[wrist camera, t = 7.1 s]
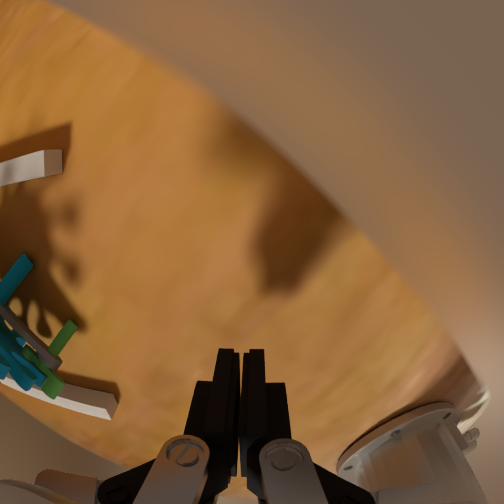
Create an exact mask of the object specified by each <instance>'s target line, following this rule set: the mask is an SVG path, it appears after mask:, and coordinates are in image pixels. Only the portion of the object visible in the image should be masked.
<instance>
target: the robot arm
mask: <svg viewBox="0 0 504 504" xmlns="http://www.w3.org/2000/svg"><path fill="white" fill-rule="evenodd" d="M459 416H460V415H459V413H458V411H457V409H456V408H455V407H454V406H453V404H450V403H448V402H439V403H433V404H429V405H426V406H422V407H419V408H417V409H414V410H412V411H409V412H407V413H405V414H403V415H401V416H399V417H397V418H394V419H393V420H391V421H389V422H387V423H385V424H384V425H382V426H380V427H378V428H377V429H375V430H374V431H372V432H370V433H369V434H367V435H366V436H364V437H363V438H362V439H360V440H359V441H357V442H356V443H355V444H354V445H353V446H351V447H350V448H349V449H348V450H347V451H346V452H345V453H344V454H343V455H342V456H341V458H340V459H339V461H338V463H337V466H336V471H337V475H335V474H333V473H331V472H329V471H328V470H326V469H324V468H322V467H320V466H319V465H317V464H315V463H313V462H312V459H311V456H310V453H309V451H308V450H307V448H306V447H305V446H304V445H303V444H302V443H300V442H298V441H296V440H293V439H292V437H291V429H290V420H289V412H288V404H287V395H286V387H285V383H265V360H264V349H250V350H249V353H244V356H243V372H242V388H241V394H240V359H239V353H234V349H223V348H219V350H218V355H217V360H216V365H215V371H214V376H213V381H197V383H196V386H195V390H194V394H193V398H192V402H191V406H190V410H189V414H188V418H187V422H186V426H185V430H184V434H183V435H178V436H175V437H172V438H170V439H169V440H167V441H166V442H165V443H164V445H163V446H162V448H161V450H160V452H159V454H158V456H157V458H155V459H153V460H151V461H149V462H147V463H145V464H142V465H140V466H138V467H136V468H133V469H131V470H129V471H126V472H124V473H121V474H119V475H116V476H114V477H111V478H109V479H107V480H105V481H103V480H98V479H97V478H95V477H88V476H82V475H76V474H70V473H65V472H61V471H57V470H52V469H46V470H43V471H41V472H40V473H39V474H38V475H37V477H36V479H35V483H34V484H32V483H28V482H24V481H20V480H13V479H2V480H0V504H216V503H217V500H218V495H219V493H220V492H222V491H223V490H225V489H226V488H228V483H230V479H231V476H234V477H236V476H237V460H238V444H239V446H240V463H241V477H247V489H249V490H250V491H251V492H252V493H254V494H255V495H256V496H257V499H258V504H489V502H488V500H487V498H486V496H485V494H484V492H483V490H482V488H481V486H480V484H479V482H478V480H477V478H476V477H475V475H474V473H473V471H472V469H471V467H470V465H469V464H468V462H467V460H466V458H465V457H464V455H466V454H468V453H469V452H472V451H473V450H474V449H475V448H476V446H477V441H476V439H477V438H478V437H479V434H480V433H479V429H478V428H473V429H471V430H469V431H467V432H465V433H464V434H461V432H460V431H459V429H458V428H457V425H458V422H459ZM357 485H358V486H357Z"/></svg>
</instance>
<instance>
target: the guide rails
mask: <svg viewBox="0 0 504 504" xmlns="http://www.w3.org/2000/svg"><path fill="white" fill-rule="evenodd" d="M61 173H62V149H58V150H41V151H38V152H34V153H31V154H27V155H24V156H21V157H17V158H14V159H11V160H8V161H5V162H2V163H0V187H1V186H5V185H9V184H13V183H17V182H22V181H26V180H31V179H35V178H40V177H45V176H50V175H56V174H61ZM46 379H47V378H46ZM0 381H1V383H3V384H5V385H7V386H9V387H11V388H14V389H16V390H18V391H21V392H23V393H26V394H28V395H30V396H33V397H36V398H38V399H41V400H44V401H46V402H49V403H52V404H55V405H58V406H61V407H64V408H67V409H71V410H74V411H77V412H81V413H84V414H88V415H92V416H96V417H100V418H104V419H108V420H112V418H113V416H114V413H115V411H116V409H117V407H118V404H117V402H116V399H115V397H114V395H113V394H111V393H106V392H101V391H96V390H92V389H87V388H83V387H79V386H75V385H71V384H67V383H65V385H64V386H63V388H62V389H61V391H60V392H59V394H58V395H57V397H56V398H55V400H53V399H51V398H49V397H48V396H47V395H46V394H45V393H44V392H43V391H42V390H41V387H42V386H41V387H39V386H37V385H36V384H33V386H32V387H31V389H30V390H29V391H24V390H23V389H22V388H21V387H20V386H19V385H18V384H17V383H16V382H15V380H14V379H13V378H12V376H11V375H10V374H9V373H8V374H7V376H6V377H5V379H4V380H1V379H0ZM45 381H46V380H45ZM45 381H44V382H45ZM43 384H44V383H43ZM43 384H42V385H43Z"/></svg>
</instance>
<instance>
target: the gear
mask: <svg viewBox="0 0 504 504" xmlns="http://www.w3.org/2000/svg"><path fill="white" fill-rule="evenodd" d="M33 267H34V265H33V264H32V263H31V261H30V260H29V259H28V258H27V257H26V255H25V254H24V253H23V254H22V255H21V256H20V257H19V259H18V260H17V261H16V262H15V264H14V265H13V266H12V267H11V269H10V270H9V271H8V272H7V274H6V275H5V276H4V278H3V279H2V280H1V282H0V379H1V380H4V379H5V377H6V376H7V374H8V373H9V374H10V375H11V376H12V378H13V379H14V380H15V382H16V383H17V384H18V385H19V386H20V387H21V388H22V389H23V390H24V391H29V390H30V389H31V387H32V386H33V384H36V385H37V386H39V387H41V386H42V387H41V390H42V391H43V392H44V393H45V394H46V395H47V396H48V397H49V398H51V399H53V400H55V398H56V397H57V395H58V394H59V392H60V391H61V389H62V388H63V386H64V385H65V382H64V380H63V379H62V378H61V377H60V376H58V375H57V374H56V373H54V372H53V371H52V370H54V371H57V369H58V368H59V367H60V365H61V364H62V362H63V361H62V360H61V358H60V357H59V356H58V355H59V353H60V352H61V350H62V349H63V348H64V346H65V345H66V343H67V342H68V341H69V339H70V338H71V337H72V335H73V334H74V332H75V331H76V330H77V328H78V326H77V325H75V324H74V323H73V322H72V321H71V320H70V319H69V320H68V321H67V322H66V324H65V325H64V326H63V328H62V329H61V330H60V332H59V333H58V335H57V336H56V337H55V339H54V340H53V342H52V343H51V344H50V346H49V347H48V346H47V345H46V344H45V343H44V342H43V341H42V340H41V339H39V338H38V337H37V336H36V335H35V334H34V333H33V332H32V331H31V330H30V329H29V328H28V327H27V326H26V325H25V324H24V323H23V322H22V321H21V320H20V319H19V318H18V317H17V316H16V315H15V313H14V312H13V311H12V310H11V309H10V308H9V307H8V306H7V305H6V304H5V303H6V302H7V300H8V299H9V297H10V296H11V295H12V293H13V292H14V291H15V289H16V288H17V287H18V285H19V284H20V283H21V281H22V280H23V279H24V278H25V276H26V275H27V274H28V273H29V271H30V270H31V269H32V268H33ZM4 320H6V321H7V322H8V323H9V324H10V325H11V326H12V327H13V330H12V331H11V330H10V329H9V328H8V327H7V325H6V324H5V322H4ZM26 341H27V342H28V343H29V344H30V345H31V346H32V347H33V348H34V349H35V350H36V352H35V351H34V350H33V349H32V348H31V347H30V346H29V345H27V344H26V345H25V346H24V348H23V345H24V344H25V342H26ZM51 369H52V370H51ZM47 377H48V378H47ZM46 378H47V379H46ZM45 380H46V381H45ZM44 381H45V382H44ZM43 383H44V384H43ZM42 384H43V385H42Z"/></svg>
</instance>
